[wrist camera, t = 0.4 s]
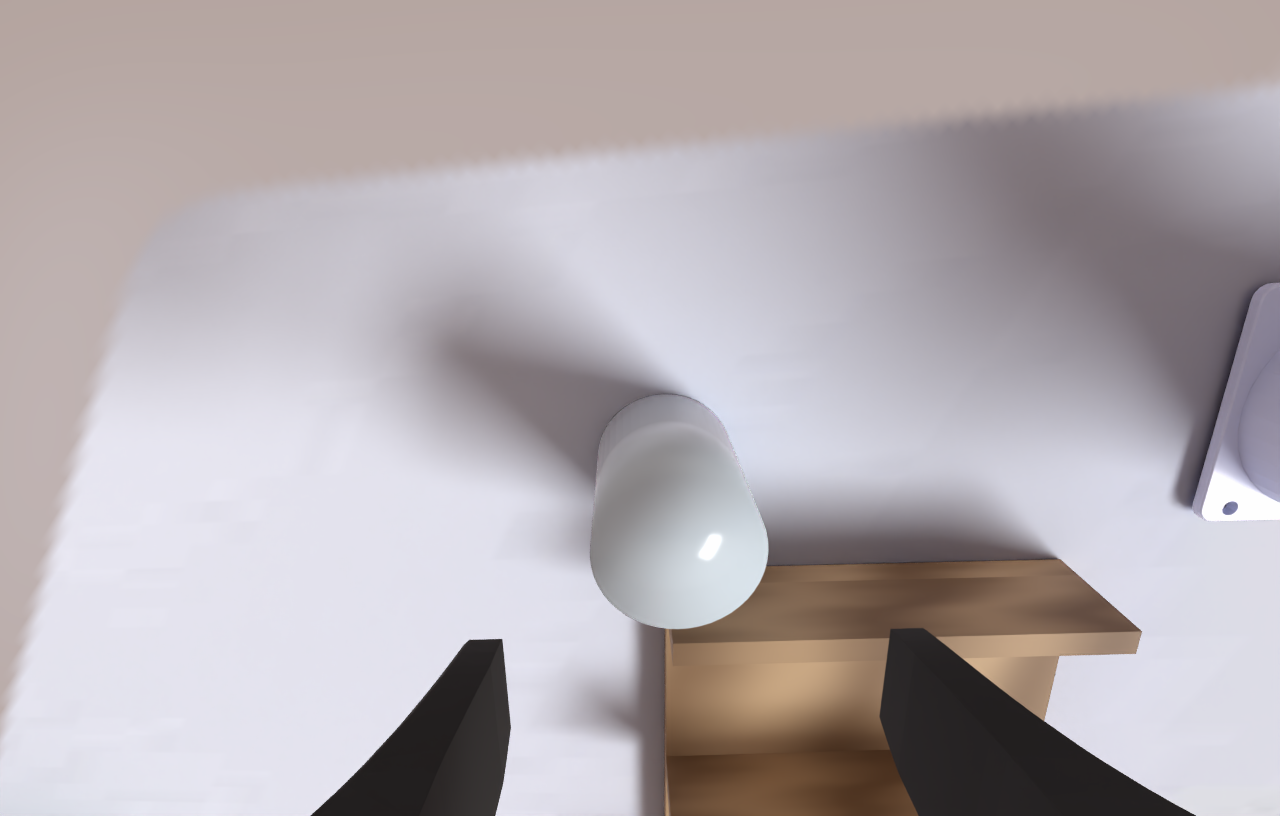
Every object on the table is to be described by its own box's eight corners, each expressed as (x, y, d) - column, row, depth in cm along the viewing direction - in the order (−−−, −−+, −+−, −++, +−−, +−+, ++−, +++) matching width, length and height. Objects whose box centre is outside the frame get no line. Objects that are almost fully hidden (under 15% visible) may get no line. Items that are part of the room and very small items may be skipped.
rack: (1060, 559, 24) (1141, 631, 20) (990, 876, 29) (1045, 980, 25) (664, 568, 24) (673, 643, 20) (664, 886, 29) (670, 994, 25)
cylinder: (733, 392, 22) (773, 470, 16) (729, 515, 23) (764, 627, 17) (595, 395, 22) (586, 474, 16) (599, 518, 23) (593, 631, 17)
